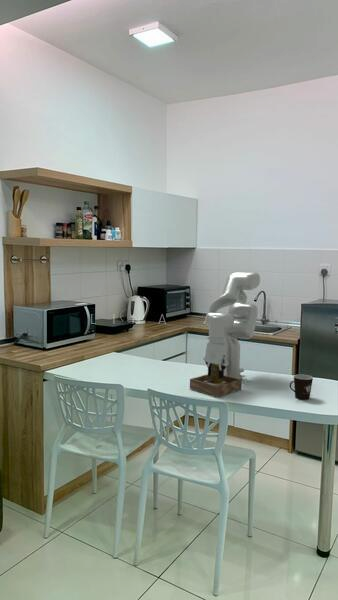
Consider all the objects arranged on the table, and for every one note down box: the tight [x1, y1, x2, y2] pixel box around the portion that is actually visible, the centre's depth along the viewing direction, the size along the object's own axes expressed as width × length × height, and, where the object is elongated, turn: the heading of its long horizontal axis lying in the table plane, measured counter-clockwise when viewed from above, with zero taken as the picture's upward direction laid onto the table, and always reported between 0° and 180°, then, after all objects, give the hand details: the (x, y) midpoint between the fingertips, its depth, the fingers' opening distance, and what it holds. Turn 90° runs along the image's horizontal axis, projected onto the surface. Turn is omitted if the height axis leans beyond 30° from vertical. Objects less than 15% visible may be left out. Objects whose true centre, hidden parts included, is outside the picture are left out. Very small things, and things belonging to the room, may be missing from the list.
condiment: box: [205, 363, 226, 385], centre depth 224 cm, size 7×8×12 cm
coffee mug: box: [289, 373, 314, 401], centre depth 213 cm, size 12×9×10 cm
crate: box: [189, 373, 243, 398], centre depth 225 cm, size 18×18×5 cm
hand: (215, 376), depth 224 cm, fingers closed on condiment, 6 cm apart
